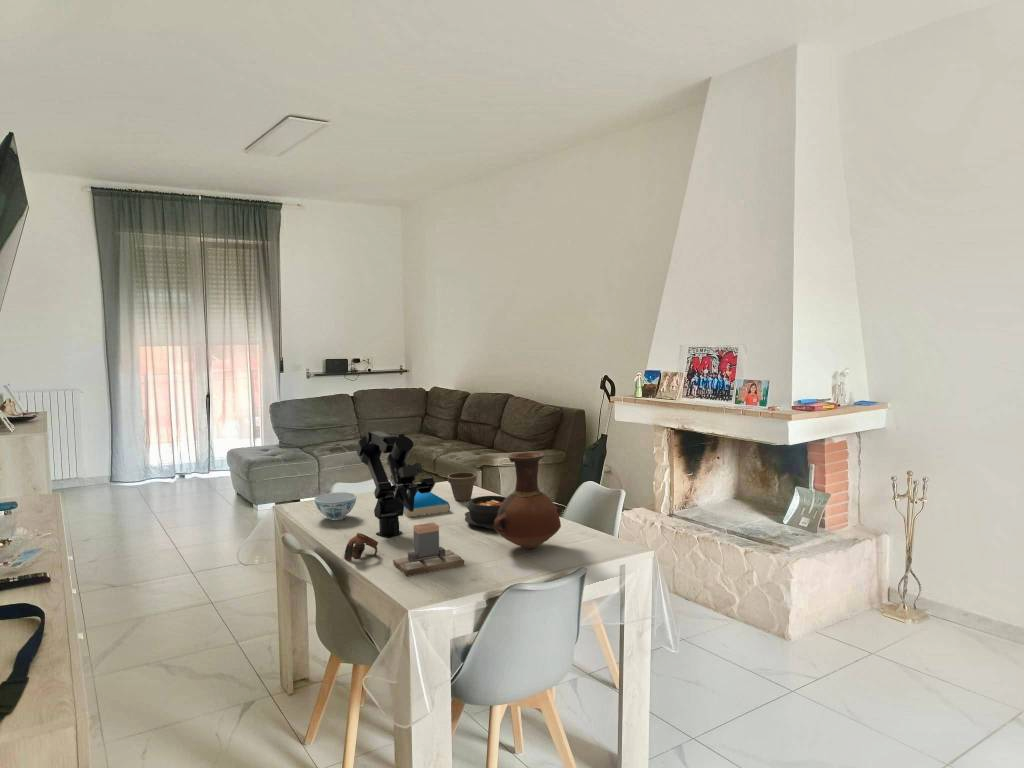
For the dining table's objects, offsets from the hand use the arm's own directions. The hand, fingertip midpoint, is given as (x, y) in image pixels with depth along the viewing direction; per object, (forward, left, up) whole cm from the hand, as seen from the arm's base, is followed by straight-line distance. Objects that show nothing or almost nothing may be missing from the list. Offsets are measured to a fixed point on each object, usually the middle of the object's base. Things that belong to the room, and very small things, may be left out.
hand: (412, 511), depth 217 cm
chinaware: (-52, +11, -13) cm, 54 cm away
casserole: (-1, +39, -14) cm, 41 cm away
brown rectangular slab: (+12, -5, -13) cm, 18 cm away
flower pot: (-32, +58, -13) cm, 67 cm away
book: (-38, +39, -14) cm, 57 cm away
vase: (+26, +25, -13) cm, 39 cm away
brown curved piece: (-10, -13, -14) cm, 21 cm away
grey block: (+10, -4, -11) cm, 16 cm away
